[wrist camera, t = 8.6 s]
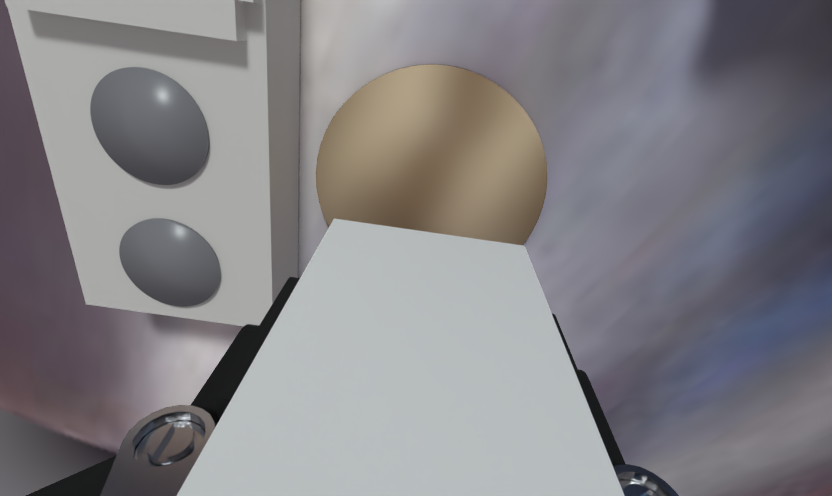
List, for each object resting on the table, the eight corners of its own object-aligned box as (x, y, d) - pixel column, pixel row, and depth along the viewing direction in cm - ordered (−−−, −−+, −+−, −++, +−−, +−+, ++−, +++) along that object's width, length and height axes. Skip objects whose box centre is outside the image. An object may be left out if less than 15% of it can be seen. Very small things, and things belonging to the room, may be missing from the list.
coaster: (574, 84, 19) (577, 85, 18) (514, 294, 24) (515, 300, 23) (323, 46, 19) (319, 46, 18) (315, 265, 24) (313, 271, 23)
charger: (524, 245, 11) (678, 630, 4) (485, 387, 13) (538, 798, 6) (334, 218, 11) (139, 560, 4) (326, 365, 13) (193, 756, 6)
